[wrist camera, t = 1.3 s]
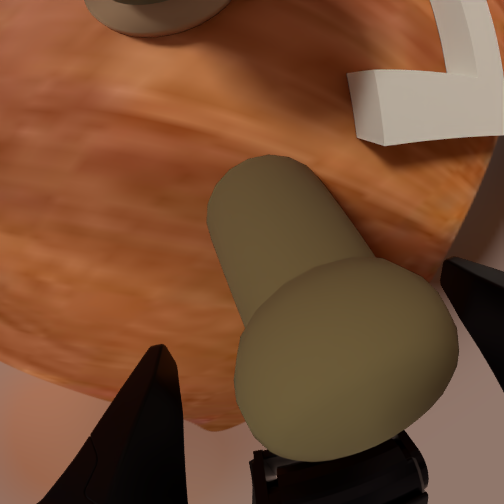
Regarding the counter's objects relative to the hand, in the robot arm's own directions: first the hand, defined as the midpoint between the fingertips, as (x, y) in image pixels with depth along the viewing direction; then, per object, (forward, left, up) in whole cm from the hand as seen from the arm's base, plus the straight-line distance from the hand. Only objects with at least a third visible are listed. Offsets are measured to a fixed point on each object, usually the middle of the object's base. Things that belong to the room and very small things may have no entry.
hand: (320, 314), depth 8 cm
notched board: (+10, -10, -7) cm, 16 cm away
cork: (0, 0, -7) cm, 7 cm away
